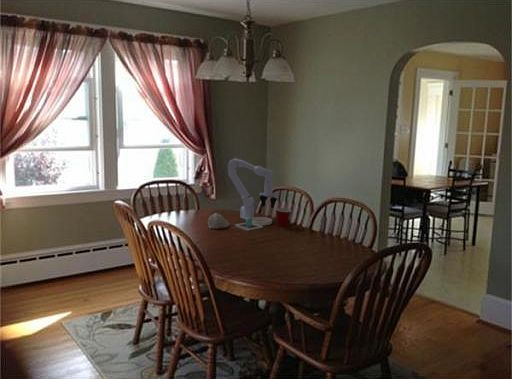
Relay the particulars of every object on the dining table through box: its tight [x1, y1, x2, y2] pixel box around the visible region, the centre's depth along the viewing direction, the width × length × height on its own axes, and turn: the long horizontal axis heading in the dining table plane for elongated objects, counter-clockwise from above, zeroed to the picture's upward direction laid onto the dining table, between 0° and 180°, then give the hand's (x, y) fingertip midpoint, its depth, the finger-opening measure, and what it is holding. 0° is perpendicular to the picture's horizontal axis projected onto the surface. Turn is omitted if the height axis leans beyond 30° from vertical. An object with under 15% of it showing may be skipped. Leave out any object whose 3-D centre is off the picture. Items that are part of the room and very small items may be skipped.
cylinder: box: [245, 217, 253, 228], centre depth 302 cm, size 4×4×6 cm
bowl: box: [252, 216, 273, 226], centre depth 314 cm, size 15×15×3 cm
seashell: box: [207, 212, 230, 230], centre depth 303 cm, size 12×14×10 cm
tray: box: [234, 222, 264, 232], centre depth 302 cm, size 14×12×2 cm
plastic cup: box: [274, 207, 292, 228], centre depth 307 cm, size 11×11×12 cm
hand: (268, 207), depth 323 cm, fingers open, 7 cm apart
